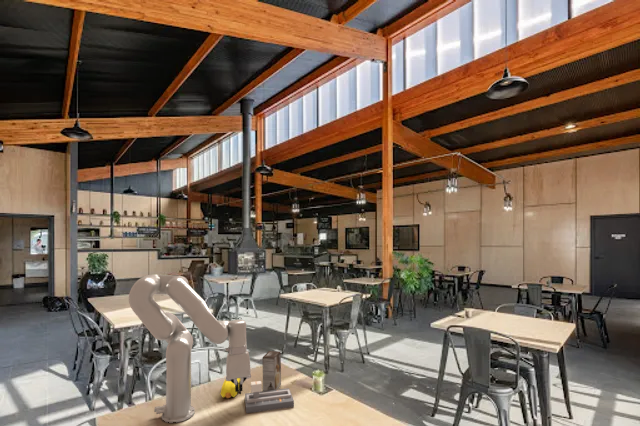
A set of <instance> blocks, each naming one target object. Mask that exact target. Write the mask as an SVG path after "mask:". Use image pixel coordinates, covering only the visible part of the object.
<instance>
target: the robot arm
mask: <svg viewBox="0 0 640 426" xmlns="http://www.w3.org/2000/svg"><path fill="white" fill-rule="evenodd" d="M154 295H167V296H168V297H169V298H170V299H171V300H172V301H173V302H174V303H175V304H177V306H178V308H180V309H181V310H182V311H183V312H184V313H185V314H186V315H187V316H188V317H189V319H190V321H192V323H193V324H194V325H195V326H196V327H197V328H198V330H199V331H200V332H201V334H202V335H204V336H205V337H206V339H208V341H210V342H211V343H212V344H214V345H215V344H216V345H221V344H223V343H225V342H226V340H227V339H228V347H225V352H228V353H227V354H226V362H225V363H226V364H225V365H226V366H225V368H226V369H225V379H226V381H231V382H233V383H234V384H235V392H237V395H241V394H242V392H243V391H244V390H243V384H244V383H245V381H246V380H248V379H250V378H252V374H251V371H252V370H251V369H252V368H251V358H250V354H249V350H247V349H248V347H247V322H246V321H245V320H244V319H232V320H218V319H217V318H216V317H215V316H214V315H213V313H212V312H211V311H210V309H209V307H208V305H207V302H206V300H205V299H203V298H202V297H201V296H200V294H198V293H197V292H196V290H195V289H193V288H192V286H191V285H190V284H189V281H188V279H187V277H185V276H182V275H175V274H174V275H171V274H155V273H154V274H153V273H152V274H147V275H145V276H142V277H140V278H139V279H137V280H136V281H135V282H134V284H133V285H132V286H131V289H130V290H129V294H128V303H129V306H130V308H131V309H132V311H133V313H134V314H135V315H136V316H137V317H138V319H139V320H140V322H141V323H142V324H143V325H144V327H145V328H146V329H147V330H148V331H149V332H150V334H151V335H152V337H154V339H156V340H159V341H165V342H166V343H167V347H166V348H165V349H166V351H165V364H166V368H165V369H166V377H165V378H166V380H165V381H166V382H165V383H166V384H165V385H166V388H165V397H166V398H165V404H163V405H161V406H160V405H159V406H154V410H153V411H154V413H156V415H158V414H159V415H160V414H161V420H162V421H163V420H164V421H165V422H164V421H163V422H164V423H168V422H169V423H170V424H174V423H173V422H176V423H181V422H184V421H186V420H189V419H190V418H191V417H193V416H194V414H195V412H196V411H195V410H196V409H195V407H194V406H192V348H193V344H194V337H193V336H192V333H191V332H190V331H189V329H187V326H185V325H184V324H183V322H182V321H181V320H180V319H179V318H178V317H177V315H176V314H174V313H172V312H170V311H169V312H166V311H164V310H163V308H162V307H161V306H160V305H159V303H157V302H156V301H155V299H154V297H153V296H154ZM238 378H240V381H239V383H238V381H237V379H238ZM237 395H236V396H237ZM169 423H168V424H169Z"/></svg>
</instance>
